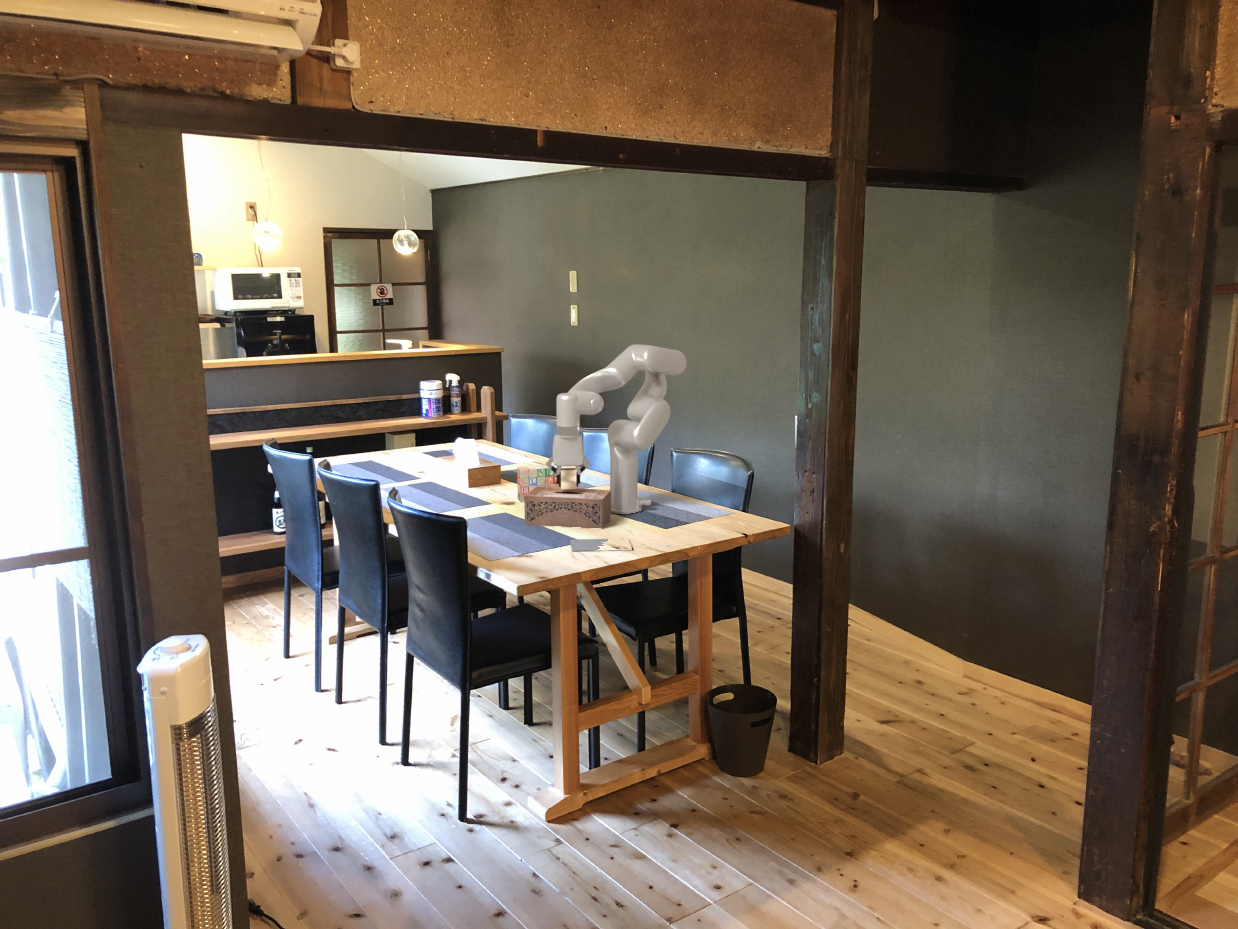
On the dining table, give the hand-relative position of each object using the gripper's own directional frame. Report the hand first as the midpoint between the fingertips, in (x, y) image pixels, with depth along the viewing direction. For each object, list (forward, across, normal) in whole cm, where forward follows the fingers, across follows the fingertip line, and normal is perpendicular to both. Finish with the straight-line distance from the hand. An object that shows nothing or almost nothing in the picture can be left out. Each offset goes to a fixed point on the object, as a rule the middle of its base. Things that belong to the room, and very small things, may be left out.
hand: (568, 485), depth 308 cm
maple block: (+1, 0, 0) cm, 1 cm away
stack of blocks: (+13, +6, -34) cm, 37 cm away
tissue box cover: (+13, 0, 0) cm, 13 cm away
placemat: (+12, -8, +30) cm, 33 cm away
